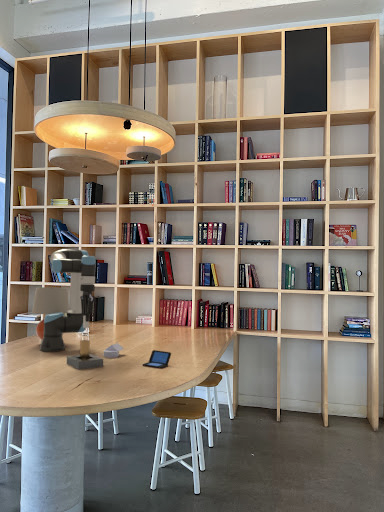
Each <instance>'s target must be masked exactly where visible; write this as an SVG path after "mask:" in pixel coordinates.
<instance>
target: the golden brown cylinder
mask: <svg viewBox="0 0 384 512" xmlns="http://www.w3.org/2000/svg"><path fill="white" fill-rule="evenodd" d="M90 347H91V340H89V339H82V340H80V344H79V348H80V350H79V355H80V359H81V360H82V359H90V354H91V353H90V351H91V350H90V349H91V348H90Z"/></svg>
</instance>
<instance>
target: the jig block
mask: <svg viewBox="0 0 384 512" xmlns="http://www.w3.org/2000/svg"><path fill="white" fill-rule="evenodd" d="M66 364H67V365H69V366H70V367H72V368H75V369H76V370H85V369H93V368H100V367H101V368H102V367H104V358H102V357H100V356H98V355H96V354H95V355H94V354H92V353H90V359H82V360H81V359H80V354H77V355H76V354H75V355H67V356H66Z"/></svg>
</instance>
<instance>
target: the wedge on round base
mask: <svg viewBox="0 0 384 512" xmlns="http://www.w3.org/2000/svg"><path fill="white" fill-rule="evenodd" d="M124 349H125V348H124V347H123V346H121V344H120V343H118V342H116V343H114V344H111V345H109V346H108V347H107V348H105V349H103V357H104V358H109V359H110V358H111V359H112V358H118V357H119V354H120V351H122V350H124Z"/></svg>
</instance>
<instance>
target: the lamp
mask: <svg viewBox="0 0 384 512" xmlns="http://www.w3.org/2000/svg"><path fill="white" fill-rule="evenodd" d="M68 292H69V291H68V287H55V286H54V287H53V286H52V287H50V286H49V287H48V286H46V287H45V286H44V287H35V294H34V299H33V305H32V310H31V314H34V315H35V314H36V315H47V314H51V313H60V312H62V313H63V314H64V315H67V311H68V310H69V307H70V300H69V293H68ZM35 333H36V335H37V337H38V338H39V340H40V344H41V343H42V340H43V336H44V319H42V320H40V321H39V322H38V323H37V325H36V328H35ZM63 335H64V333H63V334H62V336H63Z"/></svg>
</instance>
